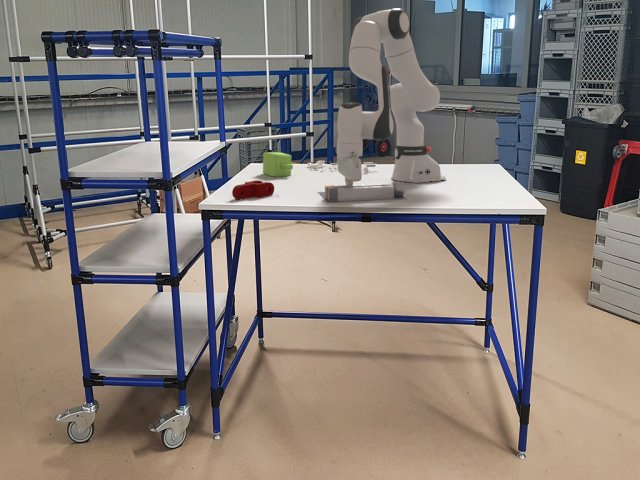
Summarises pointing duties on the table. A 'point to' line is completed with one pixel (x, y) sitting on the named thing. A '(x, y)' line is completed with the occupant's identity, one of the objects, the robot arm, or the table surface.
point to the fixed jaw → (366, 193)
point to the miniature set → (321, 163)
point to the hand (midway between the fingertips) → (349, 190)
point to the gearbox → (277, 164)
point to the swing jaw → (352, 186)
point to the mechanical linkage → (253, 190)
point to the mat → (353, 201)
